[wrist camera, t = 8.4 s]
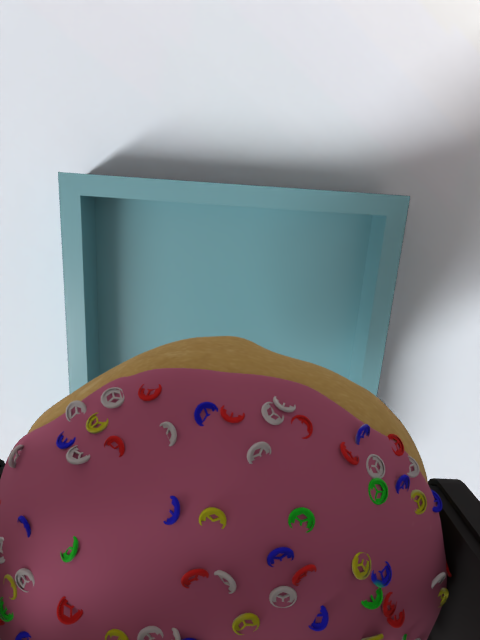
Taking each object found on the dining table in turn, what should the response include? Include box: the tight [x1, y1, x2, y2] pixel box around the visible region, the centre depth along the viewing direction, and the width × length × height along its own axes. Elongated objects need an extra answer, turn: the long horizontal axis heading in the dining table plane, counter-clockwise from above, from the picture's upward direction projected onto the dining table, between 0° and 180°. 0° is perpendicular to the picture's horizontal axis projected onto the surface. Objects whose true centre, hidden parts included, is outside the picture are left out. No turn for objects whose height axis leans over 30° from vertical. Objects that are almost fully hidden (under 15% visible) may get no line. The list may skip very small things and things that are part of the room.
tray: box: [58, 172, 410, 397], centre depth 19 cm, size 14×15×2 cm
